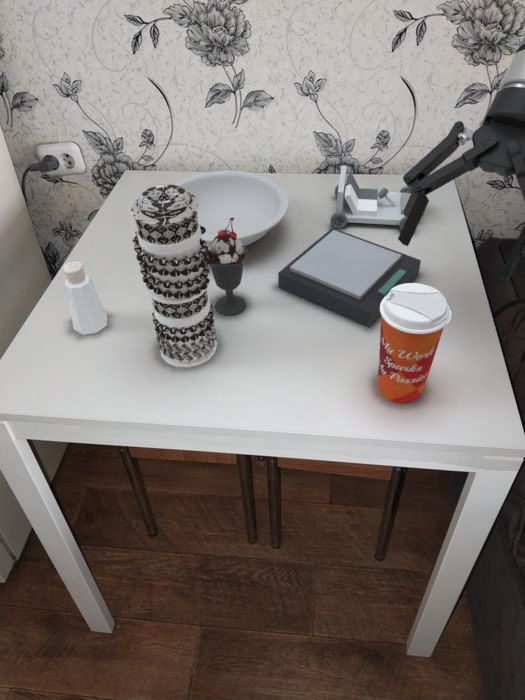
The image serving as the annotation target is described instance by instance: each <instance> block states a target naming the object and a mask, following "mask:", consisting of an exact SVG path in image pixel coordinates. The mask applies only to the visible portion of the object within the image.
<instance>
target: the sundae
mask: <svg viewBox="0 0 525 700" xmlns="http://www.w3.org/2000/svg"><path fill="white" fill-rule="evenodd" d="M233 220H234V217H233V218H230V221H233ZM229 225H230V222H229ZM229 225H228V227H229ZM228 227H227V228H228ZM227 228H226V229H225V230H221V231H220V232H219V233H218V236H216V237H215V238H214V239H213V241H212V243H211V244H210V246H208V249H207V251H206V252H207V254H208V255H207V256H208V257H209V260H208V261H207V262H206V263H207V265H209V266H210V270H211V273H212V276H213V280H214V282H215V285H216V286H217V287H218V288H219V289H220V290H222V291H225V295H223V296H222V297H220V298H218V299H217V301H216V302H215V305H214V308H215V310H216V312H218V313H219V314H221V315H224V316H235V315H239V314H241V313H242V312H243V311H244V310H245V309H246V308H247V302H246V300H245V298H243V297H242V296H240V295H236V294H234V290H235V289H237V288H238V287H239V286H240V285H241V282H242V277H243V268H244V262H245V260H246V258H247V256H248V254H249V249H248V247H247V246H244V245H243V244H242V243H241V241H240V240H239V239H237V238H236V237H237V234H236V233H235V232H233V228H232V222H231V228H232V232H230V231H229V233H228V231H227Z"/></svg>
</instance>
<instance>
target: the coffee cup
mask: <svg viewBox="0 0 525 700" xmlns="http://www.w3.org/2000/svg"><path fill="white" fill-rule="evenodd" d="M380 313H381V320H380V331H379V332H380V335H379V355H378V356H379V357H378V371H377V387H378V391H379V392H380V394H381V395H382V396H383V397H384V398H385V399H386V400H388V401H390V402H393V403H396V404H410V403H412V402H416V401H417V400H418V399H419V398H420V397H421V395H422V394H423V391H424V388H425V386H426V383H427V380H428V377H429V374H430V371H431V369H432V366H433V362H434V359H435V356H436V353H437V350H438V347H439V343H440V340H441V336H442V333H443V330H444V327H446V326H447V325H448V324H449V323H451V320H452V310H451V309H450V306H449V304H448V301H447V299H446V297H445V296H444V295H443V294H442V292H441V291H440V290H438V289H436V288H434V286H433V287H432V286H431V285H428V284H424V283H420V282H419V283H418V282H411V283H405V284H401V285H398V286H395V287H394V288H392V289H391V290H390V291H389V293H388V294H387V295H386V296H385V297H384V299H383V300H382V301H381V304H380Z"/></svg>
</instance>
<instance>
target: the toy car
mask: <svg viewBox="0 0 525 700" xmlns="http://www.w3.org/2000/svg"><path fill="white" fill-rule="evenodd" d="M347 168H348V165H341V166H340V173H339V180H338V184H337V185H336V186H335V188H334V195H335V196H336V198H337V199H336V212H334V213H333V214H332V215H331V216H330V225H331V226H332V228H334V229H337V230H339V229H344V228H345V227H346V225H347V224H348V223H352V224H353V223H354V224H355V223H356V224H371V225H388V226H389V225H392V226H399V227H398V228H399V229H400V231H402V229H403V226H404V224H405V222H406V220H407V217H405V215H404V214H403V213H404V208H405V206H406V204H407V202H408V200H409V197H410V195H411V193H412V190H411V189H410V188H408V186H407V185H405V186H403V187H402V188H400V190H399V191H389V189H387V188H386V187H383V188H382V189H381V190H379V189H378V188H362V187H361V188H360V186H359V184H358V183H357V181H356V179H355V176H354V175H353V173H350V174H347ZM433 172H434V171H432V172H431V173H430V174H432V173H433ZM430 174H429V175H430ZM424 214H425V212H424V213H423V215H422V217H423V216H424Z"/></svg>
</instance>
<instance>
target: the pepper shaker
mask: <svg viewBox="0 0 525 700" xmlns="http://www.w3.org/2000/svg"><path fill="white" fill-rule="evenodd" d="M62 271H63V272H64V275H65V282H64V288H65V295H66V298H67V303H68V309H69V313H70V318H71V324H72V328H73V330H74V331H75V332H77V333H79V334H81V335H82V336H86V335H92V334H93V335H94V334H95V335H96V334H97V333H99V332H100V331H101V330H103V329H104V328H106V327H107V325H108V315H107V314H106V313H107V312H106V310H105V308H104V307H103V303H102V301H101V299H100V297H99V294H98V293H97V290H96V287H95V285H94V283H93V280H92V279H91V277H90V275H88V274H86V272H85V269H84V264H83V263H82V262H80V261H78V260H73V261H69V262H67V263H65V264H64V265H63V267H62Z"/></svg>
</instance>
